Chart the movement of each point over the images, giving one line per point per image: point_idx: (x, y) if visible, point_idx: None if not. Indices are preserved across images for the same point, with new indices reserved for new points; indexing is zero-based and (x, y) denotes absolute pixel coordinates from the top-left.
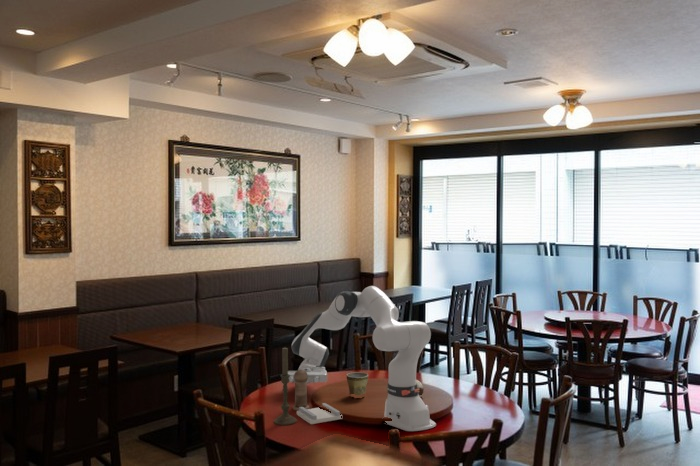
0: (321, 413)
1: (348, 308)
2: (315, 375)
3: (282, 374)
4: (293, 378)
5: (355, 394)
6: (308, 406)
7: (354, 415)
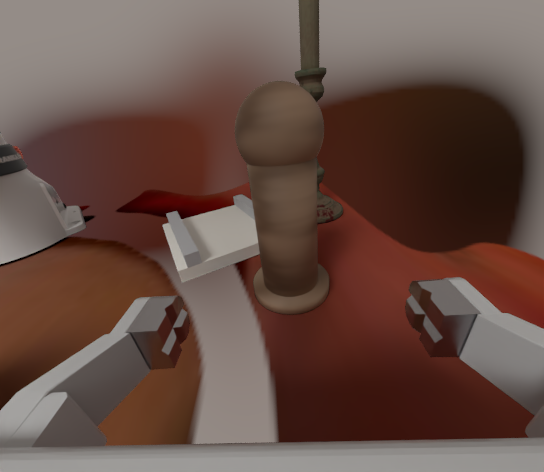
0: (216, 225)
1: None
2: (23, 453)
3: (318, 66)
4: (450, 294)
5: None
6: (256, 277)
7: (117, 252)
